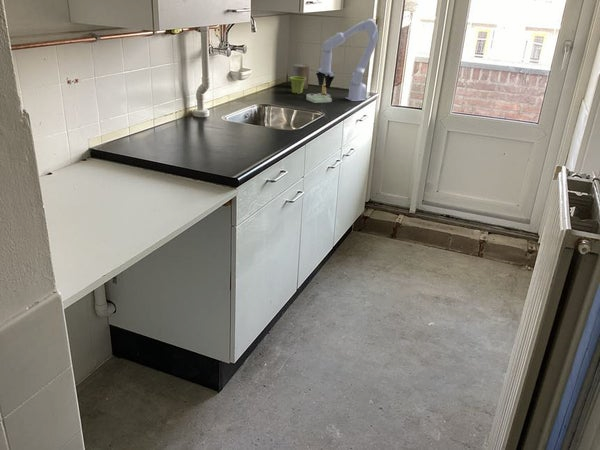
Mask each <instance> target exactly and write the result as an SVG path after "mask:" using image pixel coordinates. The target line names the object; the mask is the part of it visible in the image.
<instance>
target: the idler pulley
mask: <svg viewBox="0 0 600 450" xmlns="http://www.w3.org/2000/svg"><path fill="white" fill-rule="evenodd" d="M305 95H306V96H317V93H306V94H305Z"/></svg>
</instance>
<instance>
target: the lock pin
mask: <svg viewBox="0 0 600 450" xmlns="http://www.w3.org/2000/svg"><path fill="white" fill-rule="evenodd" d="M325 84H326V83H323V84H322V86H321V93H322V95H326V94H327V88H326V86H325Z"/></svg>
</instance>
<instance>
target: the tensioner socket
mask: <svg viewBox="0 0 600 450" xmlns="http://www.w3.org/2000/svg"><path fill="white" fill-rule="evenodd" d="M316 95H322V92H321V93H316ZM324 96H327V97H329V98H331V97H332V95H331V94H328V93H326V95H324ZM331 99H332V98H331Z"/></svg>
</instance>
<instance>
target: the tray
mask: <svg viewBox="0 0 600 450" xmlns="http://www.w3.org/2000/svg"><path fill="white" fill-rule="evenodd" d="M316 95H317V94H316ZM305 100H306V101H308V102H309V103H310V102H311V103H313V104H325V103H328V104H329V103H332V101H333V98H329V97H327V96H324V95H317V96H306V98H305Z"/></svg>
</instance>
